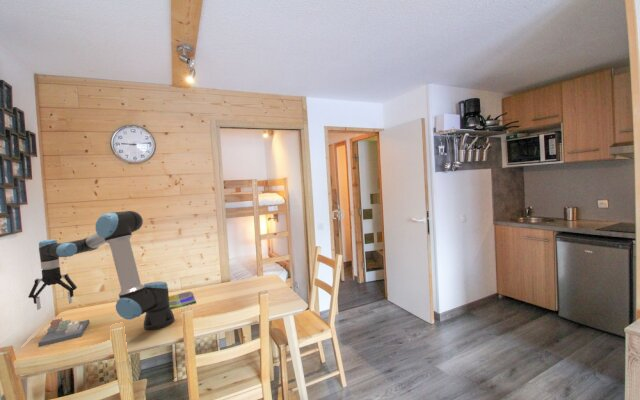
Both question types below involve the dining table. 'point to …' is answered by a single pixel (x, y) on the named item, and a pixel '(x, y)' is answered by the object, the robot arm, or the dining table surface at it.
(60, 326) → the sage tile
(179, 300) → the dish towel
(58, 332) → the button board
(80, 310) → the dining table surface
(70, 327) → the cream tile
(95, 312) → the dining table surface
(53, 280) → the robot arm
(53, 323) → the terracotta tile
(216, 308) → the dining table surface
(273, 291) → the dining table surface
